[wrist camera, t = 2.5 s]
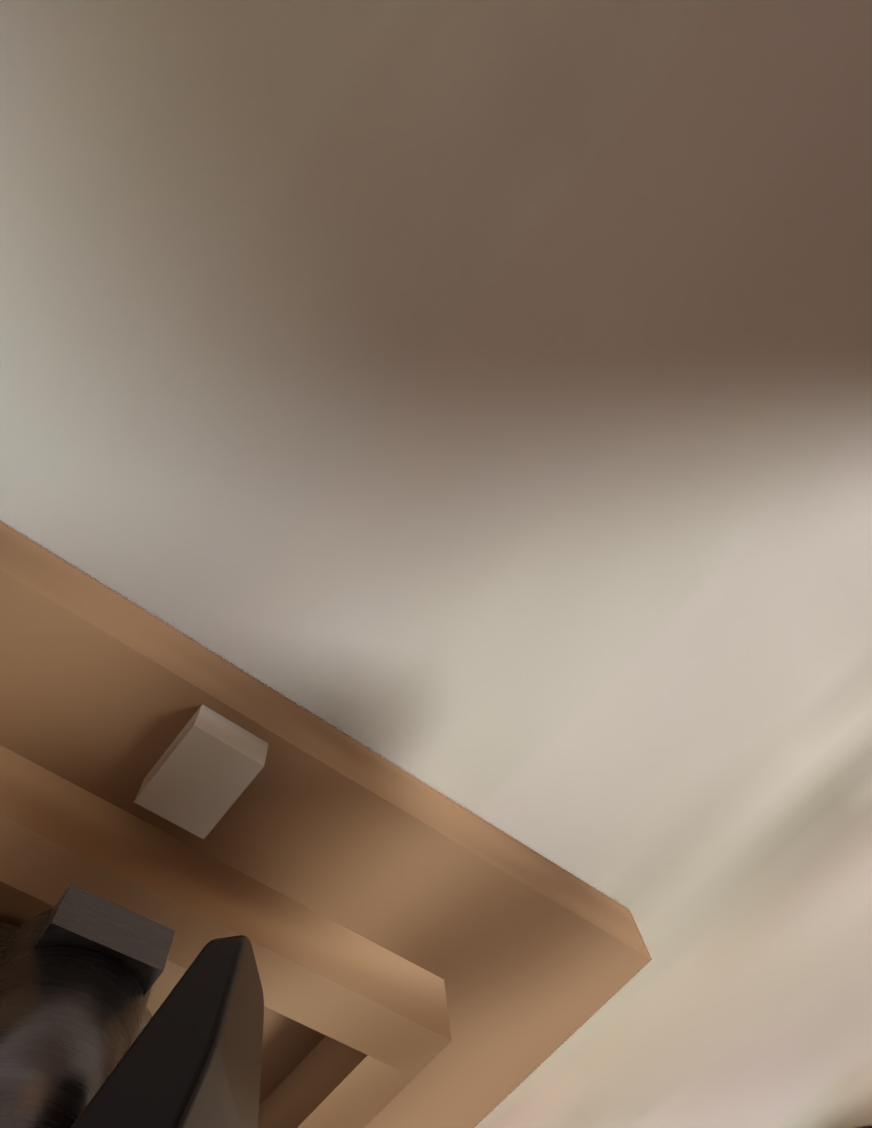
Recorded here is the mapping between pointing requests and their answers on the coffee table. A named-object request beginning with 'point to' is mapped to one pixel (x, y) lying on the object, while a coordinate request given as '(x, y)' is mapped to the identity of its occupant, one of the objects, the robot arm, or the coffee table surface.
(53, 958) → the crank wheel
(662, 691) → the coffee table surface
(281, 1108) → the board
